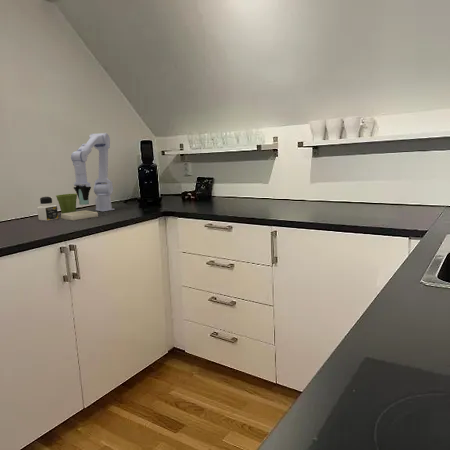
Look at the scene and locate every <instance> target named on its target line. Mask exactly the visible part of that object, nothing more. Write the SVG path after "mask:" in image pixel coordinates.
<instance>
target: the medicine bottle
mask: <svg viewBox="0 0 450 450" xmlns="http://www.w3.org/2000/svg"><path fill="white" fill-rule="evenodd" d="M53 201H54V200H53V197H52V196H42V197H40V199H39V202H40V206H37V207H36V208H37V216H38V220H39V221H44V222H45V221H46V222H48V221H53V220H58V219H59V212H58V205H55V204H54V202H53Z"/></svg>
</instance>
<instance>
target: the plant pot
mask: <svg viewBox="0 0 450 450" xmlns="http://www.w3.org/2000/svg"><path fill="white" fill-rule="evenodd" d="M55 197H56V200H57V203H58V205H59V207H60V209H59V210H60V212H61V214H64V213H70V212H77V199H78V195H77V193H65V194H57V195H55Z"/></svg>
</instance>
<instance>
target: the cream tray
mask: <svg viewBox="0 0 450 450" xmlns="http://www.w3.org/2000/svg"><path fill="white" fill-rule="evenodd" d="M98 212H99V211H92V210H79V211H77V210H76V212H70V213H64V214H62V213H60V219H61V220H66V221H72V222H73V221H80V220H86V219H93V218H98V217H99V213H98Z"/></svg>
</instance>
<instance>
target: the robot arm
mask: <svg viewBox="0 0 450 450" xmlns="http://www.w3.org/2000/svg"><path fill="white" fill-rule="evenodd" d="M88 137H89V138H88V140H87V141H86V143H82V144H81V146H79V148H78V149H77V150H76V151H72V153H71V154H70V160H71V162H72V165H73V166H74V167H73V168H74V174H75V175H74V176H75V181H74V182H73V190H74V191H75V192H76V193H75V194H77V199H79V189H80V190H81V192H82V195H83V199H84V200H88V197H89V195H90V192H91V190H92V189H91V188H92V186H91V182H88V176H87V174H88V173H87V167H86V162H87V161H88V157H89V155H90V154H91V153H92V149H93V148H95V150H97V151H98V178H97V179H95V181H94V184H93V193H94V194H95V195H96V197H95V200H94V201H95V209H94V211H95V212H108V211H109V212H110V211H113V210H114V211H115V208H113V207H112V199H111V195H112V194H113V192H114V187H113V181H112V180H111V179H110V178H109V174H108V173H109V172H108V171H109V149H110V147H111V138H110V135H109V134H108V133H107V132H102V133H90V134H89V135H88Z"/></svg>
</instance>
